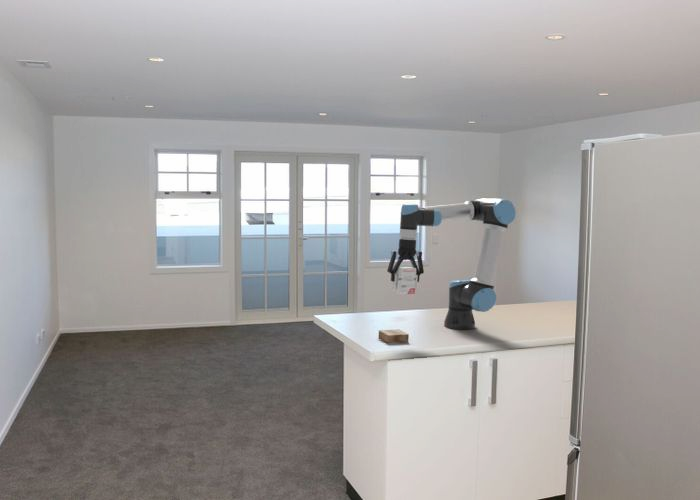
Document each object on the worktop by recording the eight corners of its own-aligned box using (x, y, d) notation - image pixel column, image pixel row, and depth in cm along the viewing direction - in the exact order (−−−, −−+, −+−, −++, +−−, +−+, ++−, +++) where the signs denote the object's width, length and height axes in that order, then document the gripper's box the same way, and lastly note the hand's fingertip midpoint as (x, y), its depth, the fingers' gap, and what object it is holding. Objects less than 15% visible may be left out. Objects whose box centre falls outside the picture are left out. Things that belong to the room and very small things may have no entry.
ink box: (408, 292, 306) (410, 266, 305) (415, 294, 302) (417, 267, 301) (393, 292, 301) (394, 266, 300) (399, 294, 297) (401, 268, 296)
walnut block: (398, 338, 306) (399, 329, 306) (408, 343, 297) (408, 334, 296) (378, 339, 303) (378, 330, 302) (387, 344, 293) (387, 335, 293)
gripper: (427, 238, 306) (423, 287, 308) (381, 237, 300) (378, 287, 302) (433, 240, 299) (430, 290, 301) (387, 238, 293) (384, 290, 295)
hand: (404, 288), depth 301 cm, fingers closed on ink box, 9 cm apart
